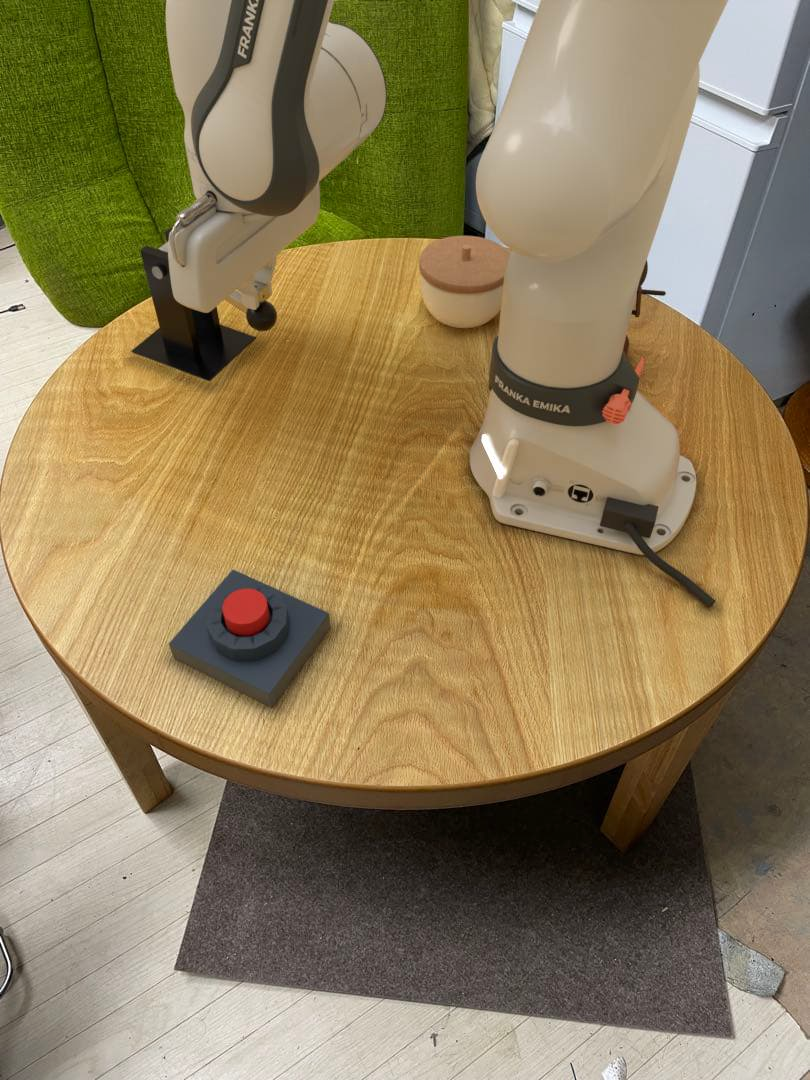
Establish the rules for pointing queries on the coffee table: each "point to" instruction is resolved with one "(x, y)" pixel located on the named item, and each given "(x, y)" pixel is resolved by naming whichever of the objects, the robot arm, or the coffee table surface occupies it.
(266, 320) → the tap lever
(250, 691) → the button block
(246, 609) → the button
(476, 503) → the coffee table surface
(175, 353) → the bracket
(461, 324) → the trinket box
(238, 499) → the coffee table surface
